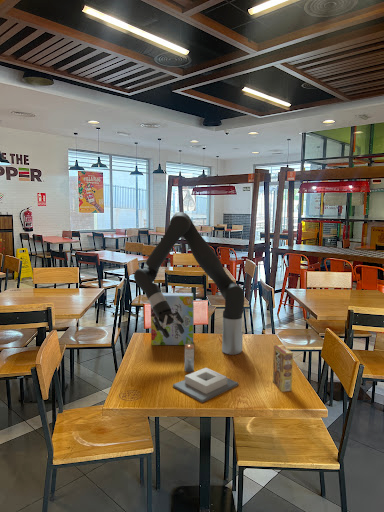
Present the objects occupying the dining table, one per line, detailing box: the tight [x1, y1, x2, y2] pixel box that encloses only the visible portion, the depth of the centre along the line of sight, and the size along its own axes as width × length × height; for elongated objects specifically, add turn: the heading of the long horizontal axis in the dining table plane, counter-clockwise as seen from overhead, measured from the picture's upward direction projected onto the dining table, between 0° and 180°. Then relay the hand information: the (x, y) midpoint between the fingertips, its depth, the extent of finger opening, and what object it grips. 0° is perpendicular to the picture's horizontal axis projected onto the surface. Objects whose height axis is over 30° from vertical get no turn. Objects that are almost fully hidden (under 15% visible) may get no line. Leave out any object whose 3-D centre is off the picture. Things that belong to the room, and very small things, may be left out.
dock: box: [172, 367, 239, 404], centre depth 144 cm, size 20×16×4 cm
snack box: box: [150, 292, 195, 346], centre depth 190 cm, size 22×9×26 cm, turn 89°
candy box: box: [272, 344, 294, 393], centre depth 144 cm, size 9×4×15 cm, turn 13°
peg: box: [184, 343, 195, 373], centre depth 158 cm, size 4×4×11 cm
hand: (175, 335), depth 164 cm, fingers open, 8 cm apart
